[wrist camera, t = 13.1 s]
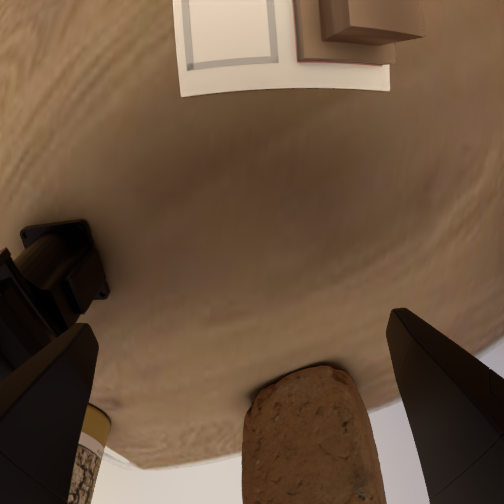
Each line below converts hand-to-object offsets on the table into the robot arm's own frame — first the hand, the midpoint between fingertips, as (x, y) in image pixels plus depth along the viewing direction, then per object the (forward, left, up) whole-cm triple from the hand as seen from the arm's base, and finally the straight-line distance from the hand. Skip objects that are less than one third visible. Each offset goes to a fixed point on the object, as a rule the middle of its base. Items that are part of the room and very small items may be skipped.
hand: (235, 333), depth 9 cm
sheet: (+3, +10, -12) cm, 16 cm away
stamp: (+6, +10, -12) cm, 16 cm away
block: (+4, -20, -12) cm, 24 cm away
